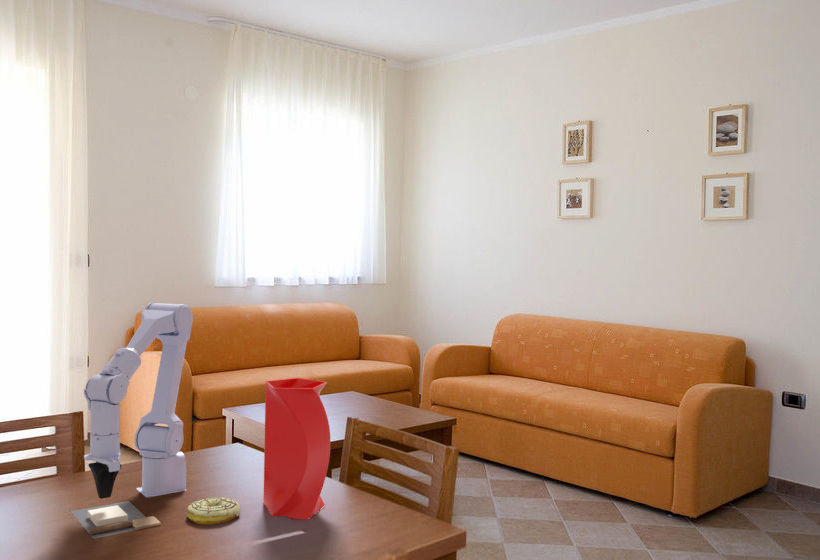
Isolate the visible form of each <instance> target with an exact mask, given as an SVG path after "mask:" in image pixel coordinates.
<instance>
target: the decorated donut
mask: <svg viewBox="0 0 820 560" xmlns="http://www.w3.org/2000/svg"><path fill="white" fill-rule="evenodd" d="M240 514H241V505H240V504H239V503H238V502H237V501H236V500H235V499H232V498H231V497H230V498H229V497H224V496H223V497H222V496H221V497H219V496H218V497H208V498H207V497H206V498H203V499H199V500H196V501H194V502H192V503H190V504H189V505H188V506H187V511H186V515H187V518H188V519H189V521H191V522H193V523H195V524H198V525H205V526H206V525H219V524H220V525H221V524H225V523H228V522H230V521H233V520H234V519H236V518H237V517H239V515H240Z"/></svg>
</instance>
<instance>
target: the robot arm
mask: <svg viewBox="0 0 820 560" xmlns="http://www.w3.org/2000/svg"><path fill="white" fill-rule="evenodd" d="M140 315H141V323H140V324H139V327H137V330H136V331H135V332H134V334H133V336H132V338H131V339H130V340H129V343H128V344H127V345H126V347H120V348H118V349H117V350H116V351H115V352H114V354H113V356H112V357H111V358H110V360H109V361H108V362H107V363H106V365H105V366H104V368H103V369H101V372H100V373H99V374H95V375H93V376H91V377H90V378H89V379H88V380H87V382H86V384H85V389H83V395H84V396H83V397H84V398H85V400H86V402H87V409H88V410H89V411H90V418H89V419H90V421H89V422H90V429H89V433H90V434H89V436H90V438H89V439H90V441H89V442H90V443H89V449H90V450H89V454H85V455H83V459H84V461H92V462H91V463H88V464H87V465H88V467H89V470H90V471H91V473H92V476H93V479H94V484H95V488H96V492H97V496H98V498H99V499H102V500H103V499H107V498H110V497H111V496H112V493H113V489H114V484H115V481H116V478H117V476H118V474H119V472H120V471H121V469H122V464H121V461H120V460H121V456H122V455H121V454H122V453H121V449H120V447H121V403H122V402H123V400H125V398H126V396H127V393H128V388H129V386H130V380H131V379H132V378H133V376H134V375H135V373H136V372H137V370H138V369H139V368H140V366H141V364H142V359H141V358H142V357H141V355H143V353H144V352H145V351H146V350H147V348H148V347H149V346H150V345H151V344H152V343H153V342H154V341H155V339H158V340H160V342H161V345H162V349H161V356H160V360H159V367H158V371H157V377H156V382H155V383H156V384H155V389H154V392H153V393H154V394H153V399H152V405H151V409H150V411H149V412H148V413H146V414H145V415H144V416H142V417H141V418H140V421H139V425H138V428H137V429H136V432H135V434H134V436H133V438H134V439H133V443H134V446H135V449H137V451H139V455H140V456H141V457H142V461H141V462H142V466H141V468H142V469H141V472H142V473H141V487H136V488H135V489H136V490H137V491H138V492H139V493H141V494H142V496H144V497H145V498H153V497H158V496H162V495H163V496H164V495H168V494H173V493H181V492H186V491H187V460H186V456H185V454H184V453H183V451H181V448H182V447H183V444H184V422H183V421H182V420H181V418H179V416H178V415H177V414H176V413H175V412H176V406H177V401H178V397H179V396H178V395H179V389H180V383H181V378H182V372H183V367H184V361H185V355H186V351H187V350H186V349H187V343H188V341H189V340H190V339H191V333H192V327H193V320H194V315H193V313H192V310H191V308H190V306H189V305H188V304H186V303H180V304H179V303H162V302H161V303H160V302H159V303H158V302H149V303H148V304H147V305H146V306H145V308H144V310H142V312H141V314H140ZM158 424H160V425H158ZM163 425H167V426H163Z"/></svg>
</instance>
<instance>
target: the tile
mask: <svg viewBox="0 0 820 560" xmlns="http://www.w3.org/2000/svg"><path fill="white" fill-rule="evenodd" d="M88 517H89V518H90V520H91V521H92V522H93V523H94V524H95V525H96V526H97V527H102V526H107V525H111V524H116V523H121V522H125V521H128V515H127V514H126V513H125V512H124V511H123V510H122V509H121V508H120V507H119V506H118V505H115V506H110V507H104V508H99V509H93V510H88Z"/></svg>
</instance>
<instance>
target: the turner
mask: <svg viewBox="0 0 820 560" xmlns="http://www.w3.org/2000/svg"><path fill="white" fill-rule="evenodd" d="M152 526H154V527H158V526H161V521H160V520H158V519H157V518H156V517H155V516H154V515H152V516H147V517H146V516H145V518H141V519H136V520H131V521H126V522H121V523H116V524H111V525H107V526H102V527H97V528H92V529H90V530H89V533H90V534H89V533H88V534H89V536H90V535H94V534H99V533H104V532H108V531H113V530H118V529H122V528H127V527H133V528H134V529H135V530H134V531H138V530H143V528H144V529H147V528H148V527H149V528H153V527H152ZM149 528H148V529H149Z"/></svg>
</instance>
